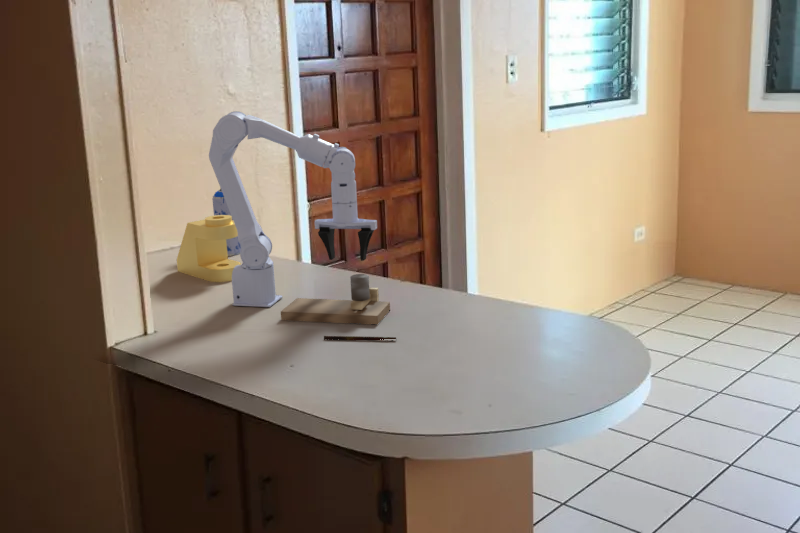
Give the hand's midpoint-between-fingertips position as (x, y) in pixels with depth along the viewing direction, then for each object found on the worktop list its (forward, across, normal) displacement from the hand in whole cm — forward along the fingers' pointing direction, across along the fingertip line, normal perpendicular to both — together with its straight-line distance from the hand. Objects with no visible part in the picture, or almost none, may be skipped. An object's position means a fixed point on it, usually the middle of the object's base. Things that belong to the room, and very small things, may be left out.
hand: (347, 259), depth 199 cm
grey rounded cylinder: (+9, +7, -11) cm, 15 cm away
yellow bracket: (+10, -43, +16) cm, 47 cm away
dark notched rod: (+10, +11, -28) cm, 31 cm away
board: (+9, +1, -13) cm, 16 cm away
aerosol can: (+10, -49, +39) cm, 63 cm away
